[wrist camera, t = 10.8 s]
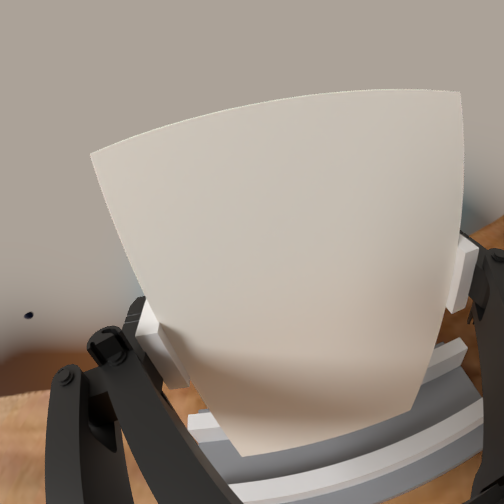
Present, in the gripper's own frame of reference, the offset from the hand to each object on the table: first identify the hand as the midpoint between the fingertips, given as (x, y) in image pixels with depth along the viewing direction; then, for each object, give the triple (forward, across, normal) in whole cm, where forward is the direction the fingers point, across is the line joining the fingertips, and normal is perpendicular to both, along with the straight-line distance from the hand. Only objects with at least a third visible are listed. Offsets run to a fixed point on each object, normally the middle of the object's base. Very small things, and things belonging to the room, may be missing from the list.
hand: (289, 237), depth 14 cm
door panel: (-4, 0, -10) cm, 10 cm away
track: (-4, +2, -18) cm, 18 cm away
